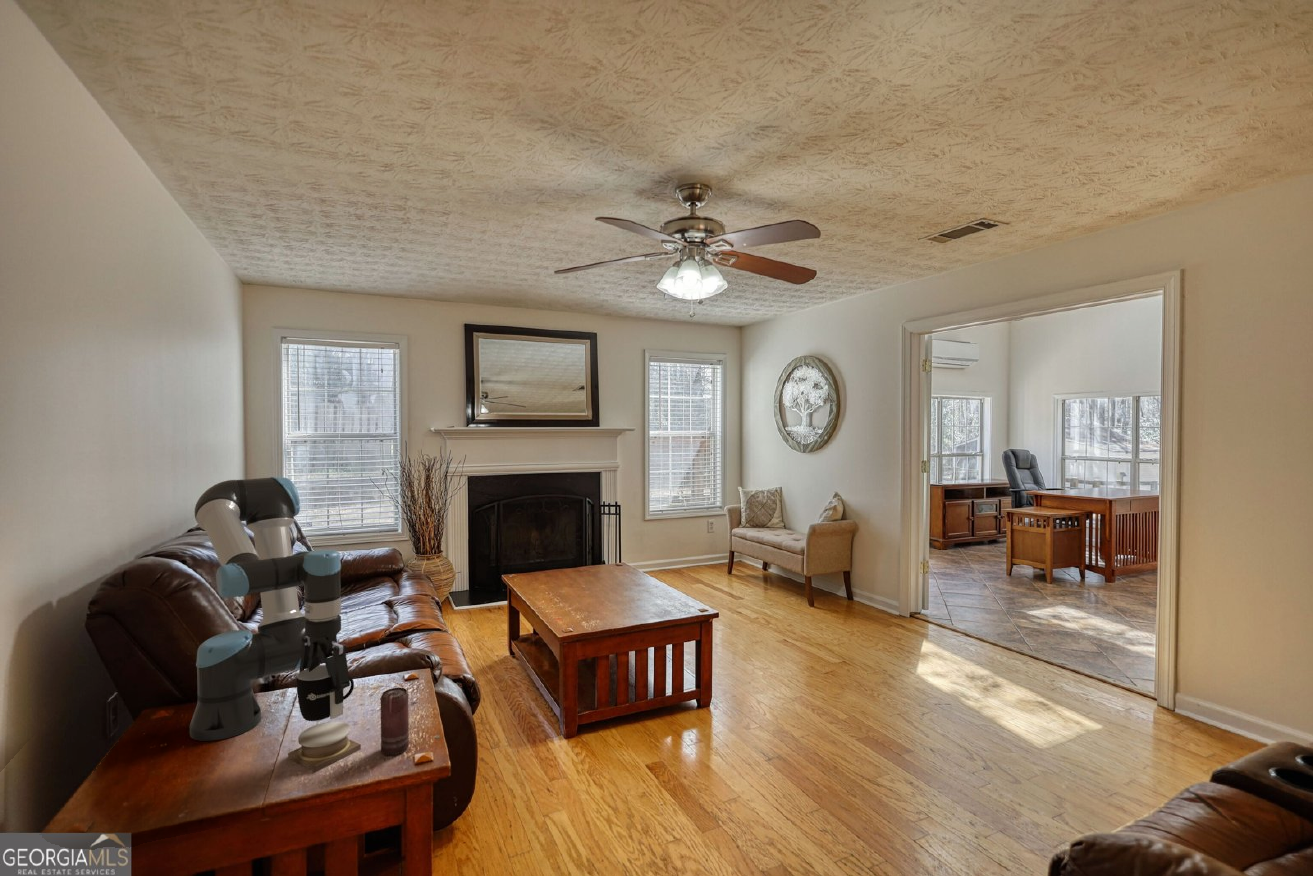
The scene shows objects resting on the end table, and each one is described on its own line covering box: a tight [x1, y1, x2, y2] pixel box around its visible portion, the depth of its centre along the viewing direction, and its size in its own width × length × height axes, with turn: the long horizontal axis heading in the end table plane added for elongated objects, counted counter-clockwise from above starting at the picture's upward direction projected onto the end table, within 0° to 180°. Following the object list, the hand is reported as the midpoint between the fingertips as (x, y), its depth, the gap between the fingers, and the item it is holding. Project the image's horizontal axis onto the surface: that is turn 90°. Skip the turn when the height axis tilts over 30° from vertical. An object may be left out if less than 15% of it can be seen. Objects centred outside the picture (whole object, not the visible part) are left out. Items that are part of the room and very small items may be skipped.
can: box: [380, 687, 410, 757], centre depth 149 cm, size 6×6×14 cm
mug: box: [296, 664, 355, 722], centre depth 147 cm, size 12×9×10 cm
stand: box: [287, 721, 362, 773], centre depth 148 cm, size 11×11×5 cm
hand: (324, 711), depth 147 cm, fingers closed on mug, 9 cm apart
